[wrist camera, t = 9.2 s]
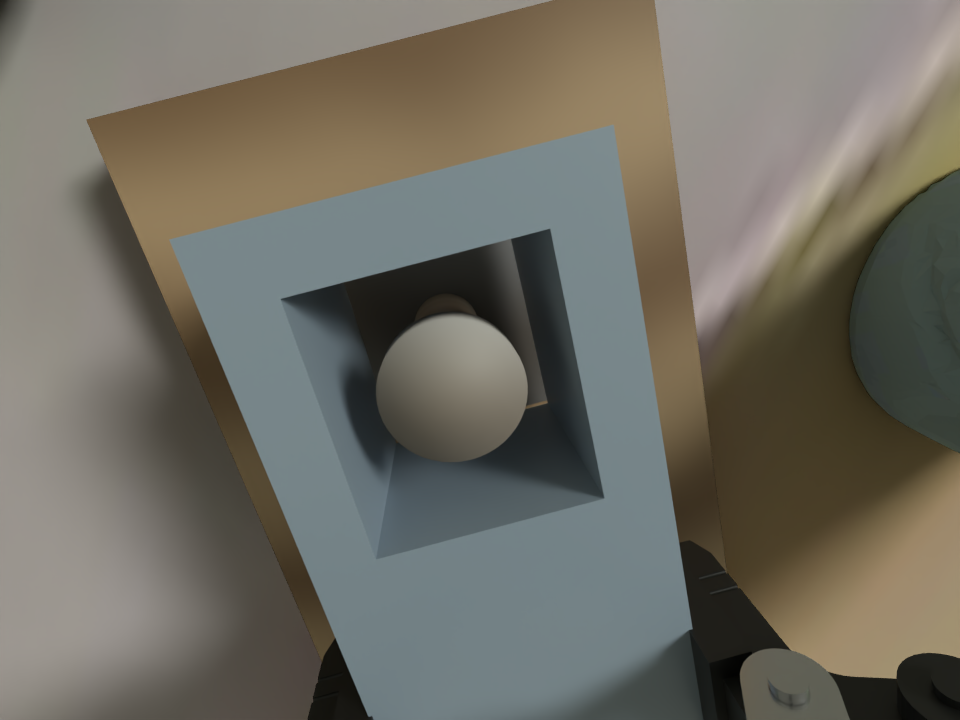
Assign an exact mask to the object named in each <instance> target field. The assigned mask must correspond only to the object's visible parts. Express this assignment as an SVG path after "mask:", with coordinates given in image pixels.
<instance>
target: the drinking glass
mask: <svg viewBox="0 0 960 720" xmlns="http://www.w3.org/2000/svg"><path fill="white" fill-rule="evenodd" d="M849 337H850V345H851V354H852V359H853V362H854V365H855V368H856V371H857V374H858V376H859V378H860V380H861V381H862V383H863V385H864V387H865V389H866V390H867V392H868V393H869V395H870V396H871V397H872V398H873V399H874V400H875V401H876V402H877V403H878V404H879V405H880V406H881V407H882V408H883V409H884V410H885V411H886V412H887V413H888V414H889V415H890V416H892V417H893V418H895V419H897V420H898V421H900V422H901V423H903V424H904V425H906V426H908V427H910V428H911V429H913V430H915V431H917V432H919V433H921V434H923V435H925V436H927V437H929V438H930V439H932V440H934V441H936V442H938V443H940V444H942V445H944V446H946V447H948V448H950V449H952V450H954V451H956V452H959V453H960V170H958V171H956V172H954V173H952V174H950V175H949V176H947V177H946V178H945V179H943V180H942V181H940V182H937V183H935V184H932V185H931V186H930V187H929V188H928V190H927V191H926V192H925V193H922V194H919V195H918V196H917V197H916V198H915V199H914V200H913V201H912V202H910V203H909V204H908V205H906V206H905V207H904V208H903V210H902V211H901V212H900V213H899V214H898V215H897V216H896V217H895V218H894V220H893V221H892V222H891V223H890V224H889V226H888V227H887V228H886V230H885V231H884V233H883V234H882V236H881V237H880V239H879V240H878V242H877V243H876V245H875V247H874V249H873V251H872V252H871V254H870V256H869V258H868V260H867V262H866V264H865V266H864V268H863V271H862V273H861V275H860V277H859V280H858V283H857V286H856V289H855V292H854V296H853V301H852V307H851V313H850V322H849Z"/></svg>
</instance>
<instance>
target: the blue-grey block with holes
mask: <svg viewBox="0 0 960 720" xmlns="http://www.w3.org/2000/svg"><path fill="white" fill-rule="evenodd" d="M508 239H511V242H512V246H513V251H514V255H515V260H516V264H517V269H518V273H519V278H520V282H521V286H522V291H523V295H524V300H525V304H526V309H527V313H528V318H529V322H530V326H531V331H532V335H533V340H534V344H535V349H536V353H537V358H538V362H539V367H540V371H541V375H542V380H543V384H544V389H545V393H546V398H547V402H548V403H546V404H542V405H538V406H535V407H531V408H527V409H525V411H524V413H523V416H522V418H521V420H520V422H519V424H518V426H517V427H516V429H515V430H514V431H513V433H512V434H511V435H510V436H509V437H508V439H507V440H506V441H505V442H503V443H502V444H501V445H500V446H499V447H497V448H496V449H494V450H493V451H491V452H489V453H487V454H485V455H483V456H481V457H478V458H475V459H472V460H467V461H462V462H440V461H434V460H430V459H427V458H424V457H421V456H419V455H416V454H414V453H413V452H411V451H409V450H408V449H406V448H405V447H404V446H402V445H401V444H400V443H396V441H395V438H394V437H393V436H392V435H391V433H390V432H389V431H388V430H387V428H386V426H385V424H384V423H383V421H382V418H381V416H380V413H379V410H378V406H377V399H376V384H377V383H376V380H375V377H374V374H373V371H372V368H371V364H370V361H369V358H368V355H367V352H366V349H365V346H364V343H363V340H362V337H361V334H360V331H359V328H358V325H357V322H356V319H355V316H354V312H353V309H352V306H351V303H350V300H349V297H348V294H347V291H346V288H345V285H344V282H347V281H351V280H355V279H359V278H363V277H366V276H370V275H374V274H378V273H382V272H386V271H389V270H393V269H397V268H401V267H405V266H409V265H412V264H416V263H420V262H424V261H428V260H432V259H435V258H439V257H443V256H447V255H451V254H455V253H459V252H462V251H466V250H470V249H474V248H478V247H482V246H485V245H489V244H493V243H497V242H501V241H505V240H508ZM169 240H170V243H171V245H172V248H173V250H174V252H175V255H176V257H177V260H178V262H179V264H180V267H181V269H182V272H183V274H184V276H185V279H186V281H187V284H188V286H189V288H190V291H191V293H192V296H193V298H194V300H195V303H196V305H197V308H198V310H199V312H200V315H201V317H202V320H203V322H204V324H205V327H206V329H207V331H208V334H209V336H210V339H211V341H212V343H213V346H214V348H215V351H216V353H217V355H218V358H219V360H220V363H221V365H222V367H223V370H224V372H225V375H226V377H227V379H228V382H229V384H230V387H231V389H232V391H233V394H234V396H235V399H236V401H237V403H238V406H239V408H240V411H241V413H242V415H243V418H244V420H245V422H246V425H247V427H248V430H249V432H250V434H251V437H252V439H253V442H254V444H255V446H256V449H257V451H258V454H259V456H260V458H261V461H262V463H263V466H264V468H265V470H266V473H267V475H268V478H269V480H270V482H271V485H272V487H273V490H274V492H275V494H276V497H277V499H278V502H279V504H280V506H281V509H282V511H283V513H284V516H285V518H286V521H287V523H288V525H289V528H290V530H291V533H292V535H293V537H294V540H295V542H296V545H297V547H298V549H299V552H300V554H301V557H302V559H303V561H304V564H305V566H306V569H307V571H308V573H309V576H310V578H311V581H312V583H313V585H314V588H315V590H316V593H317V595H318V597H319V600H320V602H321V604H322V607H323V609H324V612H325V614H326V616H327V619H328V621H329V624H330V626H331V628H332V631H333V633H334V636H335V638H336V640H337V643H338V645H339V648H340V650H341V652H342V655H343V657H344V660H345V662H346V664H347V667H348V669H349V672H350V674H351V676H352V679H353V681H354V683H355V686H356V688H357V691H358V693H359V695H360V698H361V700H362V703H363V705H364V707H365V710H366V712H367V715H368V717H370V716H372V717H373V719H374V720H703V715H702V709H701V702H700V696H699V690H698V684H697V677H696V671H695V665H694V658H693V652H692V646H691V640H690V633H689V630H691V629H692V622H691V616H690V609H689V603H688V597H687V590H686V584H685V578H684V571H683V565H682V558H681V552H680V546H679V539H678V533H677V526H676V520H675V514H674V507H673V501H672V494H671V488H670V482H669V475H668V469H667V462H666V456H665V450H664V443H663V437H662V431H661V424H660V418H659V411H658V405H657V399H656V392H655V386H654V379H653V373H652V367H651V360H650V354H649V347H648V341H647V335H646V328H645V322H644V315H643V309H642V303H641V296H640V290H639V284H638V277H637V271H636V264H635V258H634V252H633V245H632V239H631V232H630V226H629V220H628V213H627V207H626V200H625V194H624V188H623V181H622V175H621V169H620V162H619V156H618V149H617V143H616V137H615V130H614V125H610V126H606V127H602V128H599V129H595V130H591V131H587V132H583V133H579V134H575V135H571V136H568V137H564V138H560V139H556V140H552V141H548V142H544V143H541V144H537V145H533V146H529V147H525V148H521V149H517V150H513V151H510V152H506V153H502V154H498V155H494V156H490V157H486V158H483V159H479V160H475V161H471V162H467V163H463V164H459V165H455V166H452V167H448V168H444V169H440V170H436V171H432V172H428V173H425V174H421V175H417V176H413V177H409V178H405V179H401V180H398V181H394V182H390V183H386V184H382V185H378V186H374V187H370V188H367V189H363V190H359V191H355V192H351V193H347V194H343V195H340V196H336V197H332V198H328V199H324V200H320V201H316V202H312V203H309V204H305V205H301V206H297V207H293V208H289V209H285V210H282V211H278V212H274V213H270V214H266V215H262V216H258V217H254V218H251V219H247V220H243V221H239V222H235V223H231V224H227V225H224V226H220V227H216V228H212V229H208V230H204V231H200V232H197V233H193V234H189V235H185V236H181V237H177V238H173V239H169Z"/></svg>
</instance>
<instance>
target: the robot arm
mask: <svg viewBox="0 0 960 720" xmlns="http://www.w3.org/2000/svg"><path fill="white" fill-rule="evenodd" d="M679 546H680V552H681V558H682V565H683V571H684V578H685V584H686V590H687V597H688V603H689V609H690V616H691V622H692V629H691V630H689V633H690V640H691V646H692V652H693V658H694V665H695V671H696V677H697V684H698V690H699V696H700V702H701V709H702V715H703V720H960V658H957V657H953V656H949V655H944V654H936V653H922V654H917V655H913V656H911V657H908V658H907V659H905V660H904V661H902V663H901V664H900V665H899V667H898V670H897V679H889V678H867V677H850V676H842V675H837V674H833V673H830V672H827V671H826V670H825V669H824V668H823V667H822V666H821V665H819V664H818V663H817V662H815V661H814V660H812V659H810V658H809V657H807V656H805V655H802V654H800V653H797V652H794V651H791V650H790V649H789V648H788V647H787V645H786V644H785V643H784V642H783V641H782V639H781V638H780V637H779V636H778V635H777V633H776V632H775V631H774V630H773V628H772V627H771V626H770V625H769V623H768V622H767V621H766V620H765V619H764V617H763V616H762V615H761V614H760V612H759V611H758V610H757V609H756V607H755V606H754V605H753V604H752V603H751V601H750V600H749V599H748V598H747V596H746V595H745V594H744V593H743V591H742V590H741V589H740V588H738V587H737V584H736V583H735V582H734V580H733V579H732V578H731V577H730V576H729V574H728V573H727V574H726V572H725V569H724V568H723V567H722V566H721V564H720V563H719V562H718V561H717V560H716V558H715V557H714V556H713V555H712V553H711V552H709V551H707V550H706V549H704V548H702V547H701V546H699V545H697V544H696V543H694V542H692V541H690V540H688V541H684V542H680V543H679ZM308 720H374V719H373V717H372V716H370V717H368V715H367V712H366V710H365V707H364V705H363V703H362V700H361V698H360V695H359V693H358V691H357V688H356V686H355V683H354V681H353V679H352V676H351V674H350V672H349V669H348V667H347V664H346V662H345V660H344V657H343V655H342V652H341V650H340V648H339V645H338V643H337V640H336V638H335V639H334V640H333V642H332V644H331V645H330V647H329V648H328V650H327V651H326V653H325V655H324V657H323V661H322V665H321V668H320V672H319V676H318V683H317V684H316V688H315V692H314V696H313V703H312V704H311V708H310V712H309V716H308Z"/></svg>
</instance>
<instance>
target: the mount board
mask: <svg viewBox="0 0 960 720" xmlns="http://www.w3.org/2000/svg"><path fill="white" fill-rule="evenodd" d="M87 123H88V125H89V127H90V130H91V132H92V134H93V136H94V139H95V141H96V143H97V146H98V148H99V150H100V153H101V155H102V157H103V159H104V162H105V164H106V166H107V169H108V171H109V173H110V176H111V178H112V180H113V182H114V185H115V187H116V189H117V192H118V194H119V196H120V199H121V201H122V203H123V206H124V208H125V210H126V212H127V215H128V217H129V219H130V222H131V224H132V226H133V229H134V231H135V233H136V235H137V238H138V240H139V242H140V245H141V247H142V249H143V252H144V254H145V256H146V258H147V261H148V263H149V265H150V268H151V270H152V272H153V275H154V277H155V279H156V281H157V284H158V286H159V288H160V291H161V293H162V295H163V298H164V300H165V302H166V304H167V307H168V309H169V311H170V314H171V316H172V318H173V321H174V323H175V325H176V327H177V330H178V332H179V334H180V337H181V339H182V341H183V344H184V346H185V348H186V350H187V353H188V355H189V357H190V360H191V362H192V364H193V367H194V369H195V371H196V373H197V376H198V378H199V380H200V383H201V385H202V387H203V390H204V392H205V394H206V396H207V399H208V401H209V403H210V406H211V408H212V410H213V413H214V415H215V417H216V419H217V422H218V424H219V426H220V429H221V431H222V433H223V436H224V438H225V440H226V442H227V445H228V447H229V449H230V452H231V454H232V456H233V459H234V461H235V463H236V465H237V468H238V470H239V472H240V475H241V477H242V479H243V482H244V484H245V486H246V489H247V491H248V493H249V495H250V498H251V500H252V502H253V505H254V507H255V509H256V512H257V514H258V516H259V518H260V521H261V523H262V525H263V528H264V530H265V532H266V535H267V537H268V539H269V541H270V544H271V546H272V548H273V551H274V553H275V555H276V558H277V560H278V562H279V564H280V567H281V569H282V571H283V574H284V576H285V578H286V581H287V583H288V585H289V587H290V590H291V592H292V594H293V597H294V599H295V601H296V604H297V606H298V608H299V610H300V613H301V615H302V617H303V620H304V622H305V624H306V627H307V629H308V631H309V633H310V636H311V638H312V640H313V643H314V645H315V647H316V650H317V652H318V654H319V656H320V659H321V661H323V657H324V655H325V653H326V651H327V650H328V648H329V647H330V645H331V644H332V642H333V640H334V639H335V636H334V633H333V631H332V628H331V626H330V624H329V621H328V619H327V616H326V614H325V612H324V609H323V607H322V604H321V602H320V600H319V597H318V595H317V593H316V590H315V588H314V585H313V583H312V581H311V578H310V576H309V573H308V571H307V569H306V566H305V564H304V561H303V559H302V557H301V554H300V552H299V549H298V547H297V545H296V542H295V540H294V537H293V535H292V533H291V530H290V528H289V525H288V523H287V521H286V518H285V516H284V513H283V511H282V509H281V506H280V504H279V502H278V499H277V497H276V494H275V492H274V490H273V487H272V485H271V482H270V480H269V478H268V475H267V473H266V470H265V468H264V466H263V463H262V461H261V458H260V456H259V454H258V451H257V449H256V446H255V444H254V442H253V439H252V437H251V434H250V432H249V430H248V427H247V425H246V422H245V420H244V418H243V415H242V413H241V411H240V408H239V406H238V403H237V401H236V399H235V396H234V394H233V391H232V389H231V387H230V384H229V382H228V379H227V377H226V375H225V372H224V370H223V367H222V365H221V363H220V360H219V358H218V355H217V353H216V351H215V348H214V346H213V343H212V341H211V339H210V336H209V334H208V331H207V329H206V327H205V324H204V322H203V320H202V317H201V315H200V312H199V310H198V308H197V305H196V303H195V300H194V298H193V296H192V293H191V291H190V288H189V286H188V284H187V281H186V279H185V276H184V274H183V272H182V269H181V267H180V264H179V262H178V260H177V257H176V255H175V252H174V250H173V248H172V245H171V243H170V240H169V239H173V238H177V237H181V236H185V235H189V234H193V233H197V232H200V231H204V230H208V229H212V228H216V227H220V226H224V225H227V224H231V223H235V222H239V221H243V220H247V219H251V218H254V217H258V216H262V215H266V214H270V213H274V212H278V211H282V210H285V209H289V208H293V207H297V206H301V205H305V204H309V203H312V202H316V201H320V200H324V199H328V198H332V197H336V196H340V195H343V194H347V193H351V192H355V191H359V190H363V189H367V188H370V187H374V186H378V185H382V184H386V183H390V182H394V181H398V180H401V179H405V178H409V177H413V176H417V175H421V174H425V173H428V172H432V171H436V170H440V169H444V168H448V167H452V166H455V165H459V164H463V163H467V162H471V161H475V160H479V159H483V158H486V157H490V156H494V155H498V154H502V153H506V152H510V151H513V150H517V149H521V148H525V147H529V146H533V145H537V144H541V143H544V142H548V141H552V140H556V139H560V138H564V137H568V136H571V135H575V134H579V133H583V132H587V131H591V130H595V129H599V128H602V127H606V126H610V125H614V130H615V137H616V143H617V149H618V156H619V162H620V169H621V175H622V181H623V188H624V194H625V200H626V207H627V213H628V220H629V226H630V232H631V239H632V245H633V252H634V258H635V264H636V271H637V277H638V284H639V290H640V296H641V303H642V309H643V315H644V322H645V328H646V335H647V341H648V347H649V354H650V360H651V367H652V373H653V379H654V386H655V392H656V399H657V405H658V411H659V418H660V424H661V431H662V437H663V443H664V450H665V456H666V462H667V469H668V475H669V482H670V488H671V494H672V501H673V507H674V514H675V520H676V526H677V533H678V539H679V543H680V542H684V541H688V540H690V541H692V542H694V543H696V544H697V545H699V546H701V547H702V548H704V549H706V550H707V551H709V552H711V553H712V555H713V556H714V557H715V558H716V560H717V561H718V562H719V563H720V564H721V566H722V567H723V568H724V569H725V572H726V574H727V569H726V561H725V553H724V545H723V537H722V530H721V522H720V514H719V506H718V498H717V490H716V482H715V474H714V466H713V459H712V451H711V443H710V435H709V427H708V419H707V411H706V403H705V396H704V388H703V380H702V372H701V364H700V356H699V348H698V340H697V333H696V325H695V317H694V309H693V301H692V293H691V285H690V277H689V270H688V262H687V254H686V246H685V238H684V230H683V222H682V214H681V206H680V199H679V191H678V183H677V175H676V167H675V159H674V151H673V143H672V136H671V128H670V120H669V112H668V104H667V96H666V88H665V80H664V73H663V65H662V57H661V49H660V41H659V33H658V25H657V17H656V9H655V2H654V0H553V1H549V2H545V3H541V4H537V5H533V6H530V7H526V8H522V9H518V10H514V11H510V12H506V13H502V14H498V15H494V16H490V17H487V18H483V19H479V20H475V21H471V22H467V23H463V24H459V25H455V26H451V27H447V28H444V29H440V30H436V31H432V32H428V33H424V34H420V35H416V36H412V37H408V38H404V39H400V40H397V41H393V42H389V43H385V44H381V45H377V46H373V47H369V48H365V49H361V50H357V51H354V52H350V53H346V54H342V55H338V56H334V57H330V58H326V59H322V60H318V61H314V62H311V63H307V64H303V65H299V66H295V67H291V68H287V69H283V70H279V71H275V72H271V73H267V74H264V75H260V76H256V77H252V78H248V79H244V80H240V81H236V82H232V83H228V84H224V85H221V86H217V87H213V88H209V89H205V90H201V91H197V92H193V93H189V94H185V95H181V96H178V97H174V98H170V99H166V100H162V101H158V102H154V103H150V104H146V105H142V106H138V107H134V108H131V109H127V110H123V111H119V112H115V113H111V114H107V115H103V116H99V117H95V118H91V119H88V120H87ZM344 285H345V288H346V291H347V294H348V297H349V300H350V303H351V306H352V309H353V312H354V316H355V319H356V322H357V325H358V328H359V331H360V334H361V337H362V340H363V343H364V346H365V349H366V352H367V355H368V358H369V361H370V364H371V368H372V371H373V374H374V377H375V380H376V383H377V384H376V399H377V406H378V410H379V413H380V416H381V418H382V421H383V423H384V424H385V426H386V428H387V430H388V431H389V432H390V433H391V435H392V436H393V437H394V438H395V441H396V443H400V444H401V445H402V446H404V447H405V448H406V449H408V450H409V451H411V452H413V453H414V454H416V455H419V456H421V457H424V458H427V459H430V460H434V461H440V462H462V461H467V460H472V459H475V458H478V457H481V456H483V455H485V454H487V453H489V452H491V451H493V450H494V449H496V448H497V447H499V446H500V445H501V444H502V443H503V442H505V441H506V440H507V439H508V437H509V436H510V435H511V434H512V433H513V431H514V430H515V429H516V427H517V426H518V424H519V422H520V420H521V418H522V416H523V413H524V411H525V409H527V408H531V407H535V406H538V405H542V404H546V403H548V402H547V398H546V393H545V389H544V384H543V380H542V375H541V371H540V367H539V362H538V358H537V353H536V349H535V344H534V340H533V335H532V331H531V326H530V322H529V318H528V313H527V309H526V304H525V300H524V295H523V291H522V286H521V282H520V278H519V273H518V269H517V264H516V260H515V255H514V251H513V246H512V242H511V239H508V240H505V241H501V242H497V243H493V244H489V245H485V246H482V247H478V248H474V249H470V250H466V251H462V252H459V253H455V254H451V255H447V256H443V257H439V258H435V259H432V260H428V261H424V262H420V263H416V264H412V265H409V266H405V267H401V268H397V269H393V270H389V271H386V272H382V273H378V274H374V275H370V276H366V277H363V278H359V279H355V280H351V281H347V282H344Z"/></svg>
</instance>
